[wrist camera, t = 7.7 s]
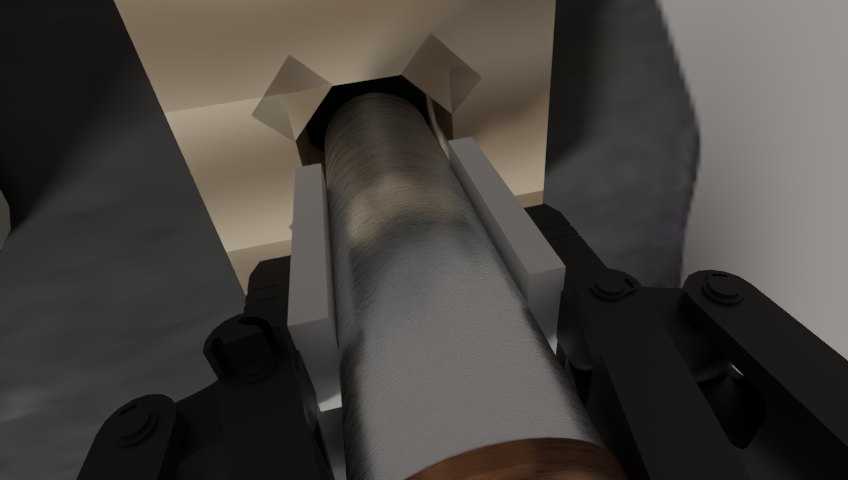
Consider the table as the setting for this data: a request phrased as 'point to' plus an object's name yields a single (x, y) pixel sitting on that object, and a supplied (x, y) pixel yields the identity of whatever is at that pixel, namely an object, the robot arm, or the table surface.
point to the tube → (437, 322)
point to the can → (4, 220)
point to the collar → (313, 78)
